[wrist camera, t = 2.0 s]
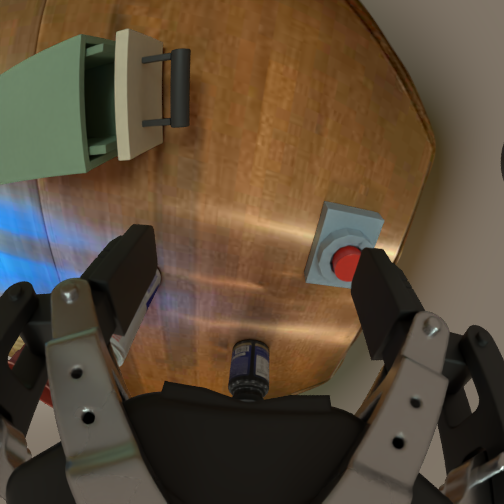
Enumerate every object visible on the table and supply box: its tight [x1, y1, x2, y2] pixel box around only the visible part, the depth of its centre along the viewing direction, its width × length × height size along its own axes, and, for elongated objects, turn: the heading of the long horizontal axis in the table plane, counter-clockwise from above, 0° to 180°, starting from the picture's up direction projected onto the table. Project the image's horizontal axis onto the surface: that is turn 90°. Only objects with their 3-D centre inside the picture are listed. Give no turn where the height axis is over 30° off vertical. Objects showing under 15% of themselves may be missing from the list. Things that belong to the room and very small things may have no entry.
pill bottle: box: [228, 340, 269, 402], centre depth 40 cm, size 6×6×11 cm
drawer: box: [84, 29, 191, 161], centre depth 20 cm, size 18×11×8 cm, turn 88°
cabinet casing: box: [0, 34, 118, 185], centre depth 20 cm, size 15×13×10 cm
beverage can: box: [110, 269, 161, 366], centre depth 30 cm, size 5×5×15 cm
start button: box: [332, 246, 361, 282], centre depth 29 cm, size 4×4×2 cm
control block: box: [304, 201, 384, 288], centre depth 31 cm, size 10×7×4 cm
